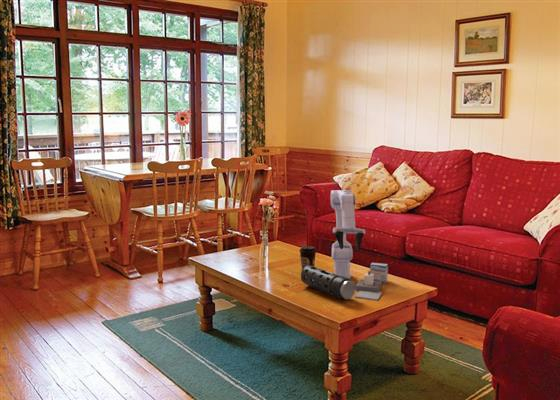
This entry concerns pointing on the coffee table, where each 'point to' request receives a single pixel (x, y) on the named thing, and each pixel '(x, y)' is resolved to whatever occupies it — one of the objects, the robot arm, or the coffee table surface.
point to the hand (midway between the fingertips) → (349, 249)
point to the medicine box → (379, 272)
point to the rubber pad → (368, 295)
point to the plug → (369, 279)
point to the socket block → (374, 288)
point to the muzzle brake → (328, 282)
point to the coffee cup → (307, 256)
